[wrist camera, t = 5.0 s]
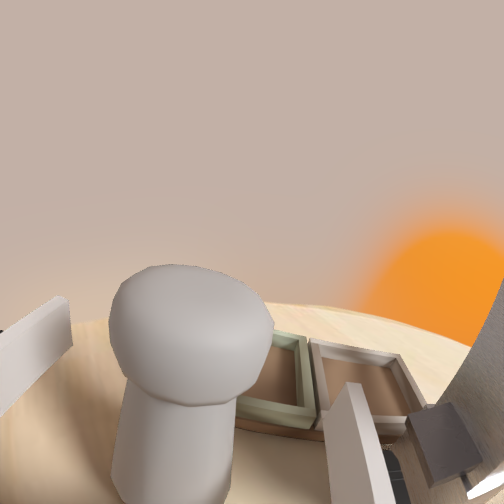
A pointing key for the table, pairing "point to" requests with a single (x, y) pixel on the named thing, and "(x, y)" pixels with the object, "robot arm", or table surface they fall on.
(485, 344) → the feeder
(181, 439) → the salt shaker
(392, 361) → the grey brown flat rectangle
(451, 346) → the table surface
